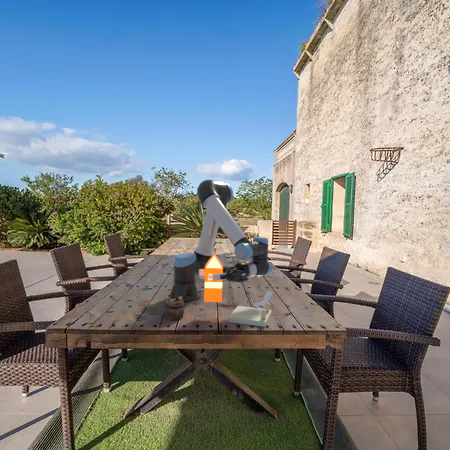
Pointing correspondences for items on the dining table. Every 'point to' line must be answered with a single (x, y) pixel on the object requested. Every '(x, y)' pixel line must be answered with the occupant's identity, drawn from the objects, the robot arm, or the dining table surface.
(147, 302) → the dining table surface
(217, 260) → the orange juice
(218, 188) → the robot arm
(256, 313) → the plinth
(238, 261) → the globe
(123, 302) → the dining table surface
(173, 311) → the cupcake
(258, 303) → the wrench
